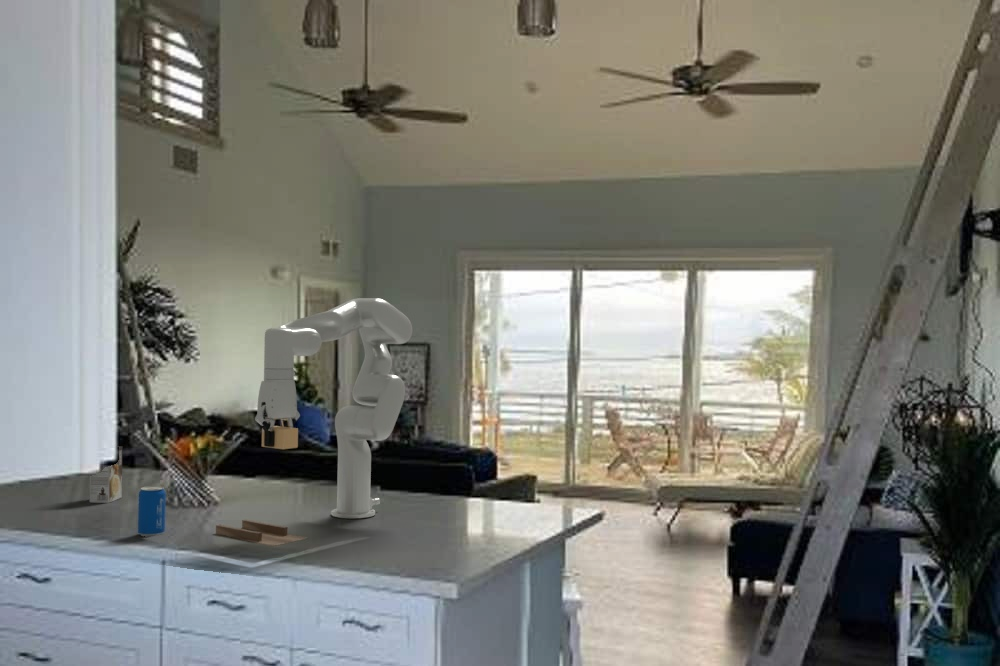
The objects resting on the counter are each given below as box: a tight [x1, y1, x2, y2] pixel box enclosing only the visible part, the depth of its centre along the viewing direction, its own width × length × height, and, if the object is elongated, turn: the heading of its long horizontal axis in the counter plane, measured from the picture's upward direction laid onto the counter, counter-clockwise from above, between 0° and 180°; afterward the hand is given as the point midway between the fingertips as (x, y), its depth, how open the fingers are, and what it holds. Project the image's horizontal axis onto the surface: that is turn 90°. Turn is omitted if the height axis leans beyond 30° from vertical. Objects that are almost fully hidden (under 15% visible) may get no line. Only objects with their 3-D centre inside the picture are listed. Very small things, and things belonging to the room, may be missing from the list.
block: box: [261, 425, 299, 450], centre depth 246 cm, size 5×8×5 cm, turn 56°
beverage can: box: [137, 485, 167, 538], centre depth 243 cm, size 6×6×12 cm
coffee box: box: [89, 446, 123, 504], centre depth 290 cm, size 9×6×16 cm
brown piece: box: [214, 519, 308, 547], centre depth 239 cm, size 12×22×3 cm, turn 56°
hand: (277, 444), depth 246 cm, fingers closed on block, 5 cm apart
